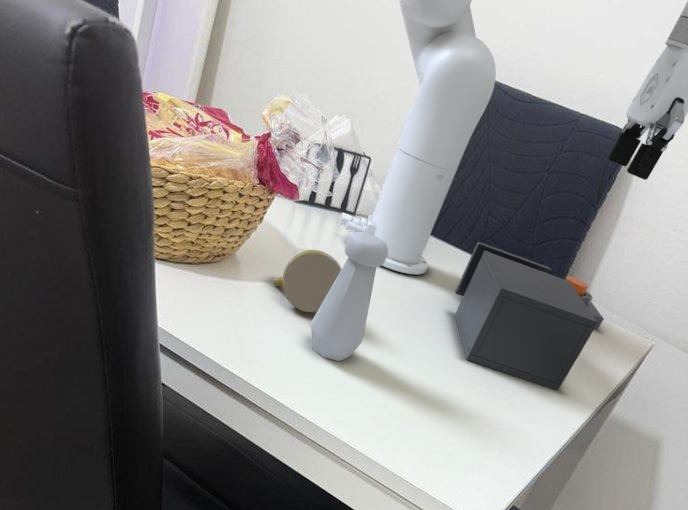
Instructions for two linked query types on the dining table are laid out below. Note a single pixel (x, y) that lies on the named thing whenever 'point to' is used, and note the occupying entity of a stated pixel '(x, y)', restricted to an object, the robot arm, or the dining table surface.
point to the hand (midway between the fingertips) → (626, 169)
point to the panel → (592, 308)
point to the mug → (309, 279)
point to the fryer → (523, 321)
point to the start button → (577, 285)
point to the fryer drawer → (483, 247)
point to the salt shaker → (348, 299)
